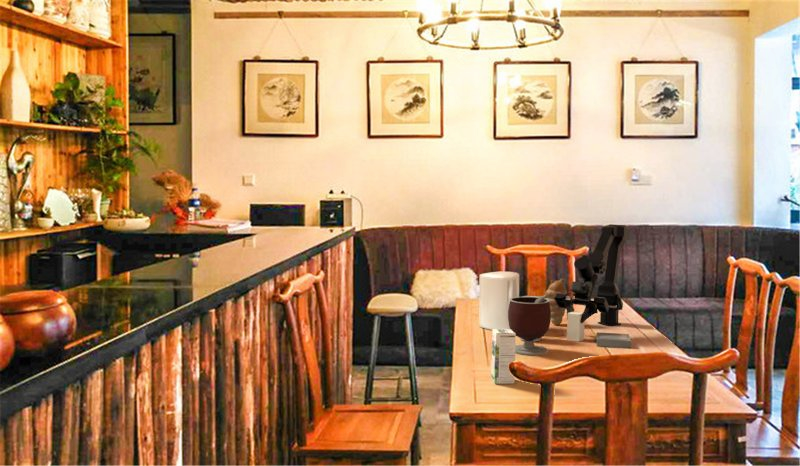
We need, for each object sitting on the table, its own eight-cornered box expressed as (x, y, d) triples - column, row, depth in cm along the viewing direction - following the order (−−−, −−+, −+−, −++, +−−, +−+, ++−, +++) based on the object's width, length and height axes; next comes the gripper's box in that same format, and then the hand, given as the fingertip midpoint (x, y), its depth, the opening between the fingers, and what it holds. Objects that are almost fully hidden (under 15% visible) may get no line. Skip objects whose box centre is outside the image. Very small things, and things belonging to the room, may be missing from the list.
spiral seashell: (560, 322, 288) (561, 277, 287) (571, 325, 281) (572, 279, 279) (541, 323, 285) (541, 278, 284) (551, 327, 278) (552, 280, 276)
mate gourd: (499, 349, 244) (499, 289, 242) (531, 344, 250) (532, 286, 249) (529, 359, 230) (529, 296, 229) (562, 353, 237) (563, 293, 235)
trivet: (596, 339, 258) (596, 331, 258) (628, 341, 255) (629, 333, 255) (596, 346, 247) (596, 338, 247) (630, 348, 244) (630, 340, 244)
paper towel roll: (515, 324, 283) (515, 268, 281) (530, 332, 269) (531, 273, 268) (478, 326, 280) (478, 269, 278) (491, 334, 266) (492, 274, 264)
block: (572, 337, 261) (572, 311, 260) (584, 339, 258) (584, 312, 257) (567, 339, 257) (567, 313, 256) (579, 341, 254) (579, 314, 254)
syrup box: (490, 378, 208) (491, 328, 207) (510, 378, 208) (511, 328, 207) (494, 384, 202) (495, 333, 201) (515, 383, 203) (516, 332, 202)
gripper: (556, 270, 264) (543, 305, 256) (606, 274, 253) (594, 311, 245) (565, 289, 271) (552, 323, 263) (614, 294, 260) (602, 330, 252)
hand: (574, 321), depth 256 cm, fingers closed on block, 4 cm apart
